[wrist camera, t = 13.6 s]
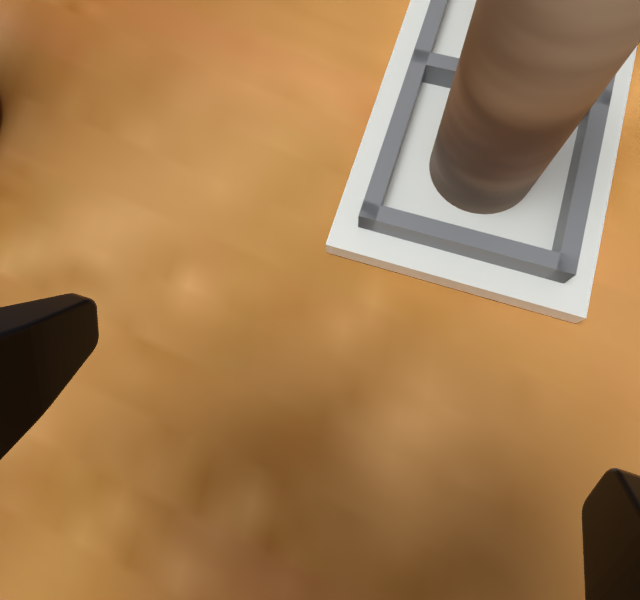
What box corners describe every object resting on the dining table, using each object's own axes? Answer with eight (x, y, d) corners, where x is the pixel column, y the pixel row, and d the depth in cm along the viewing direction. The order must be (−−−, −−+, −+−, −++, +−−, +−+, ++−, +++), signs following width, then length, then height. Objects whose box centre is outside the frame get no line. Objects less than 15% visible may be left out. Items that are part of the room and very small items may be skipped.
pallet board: (575, 323, 22) (600, 311, 20) (326, 252, 23) (324, 233, 21) (642, -21, 27) (666, -60, 25) (434, -59, 29) (441, -99, 26)
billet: (553, 191, 22) (859, -171, 9) (457, 229, 22) (623, -85, 9) (503, 109, 24) (704, -311, 10) (412, 144, 24) (496, -240, 10)
